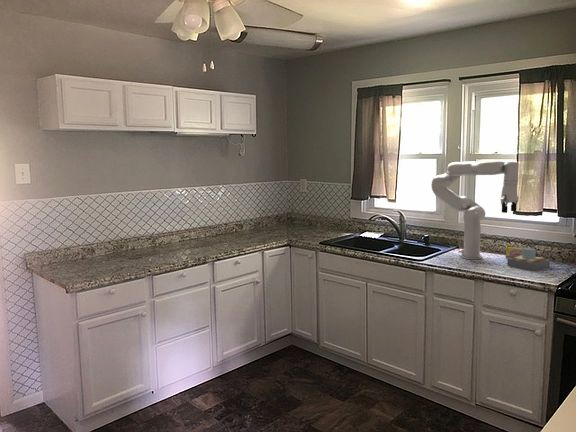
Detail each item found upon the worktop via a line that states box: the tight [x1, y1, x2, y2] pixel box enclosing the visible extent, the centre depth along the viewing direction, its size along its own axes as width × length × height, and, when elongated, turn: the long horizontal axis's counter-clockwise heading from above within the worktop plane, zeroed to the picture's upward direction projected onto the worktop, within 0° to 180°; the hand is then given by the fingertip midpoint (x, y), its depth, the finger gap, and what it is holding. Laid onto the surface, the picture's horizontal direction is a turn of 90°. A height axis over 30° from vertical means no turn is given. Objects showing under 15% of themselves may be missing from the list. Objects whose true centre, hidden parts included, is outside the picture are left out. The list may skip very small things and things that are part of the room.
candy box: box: [505, 246, 524, 260], centre depth 297 cm, size 16×2×8 cm, turn 47°
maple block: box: [513, 255, 546, 263], centre depth 280 cm, size 12×12×5 cm
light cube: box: [522, 247, 537, 259], centre depth 280 cm, size 5×5×5 cm
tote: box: [507, 258, 551, 272], centre depth 281 cm, size 16×16×5 cm
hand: (509, 211), depth 293 cm, fingers open, 9 cm apart
